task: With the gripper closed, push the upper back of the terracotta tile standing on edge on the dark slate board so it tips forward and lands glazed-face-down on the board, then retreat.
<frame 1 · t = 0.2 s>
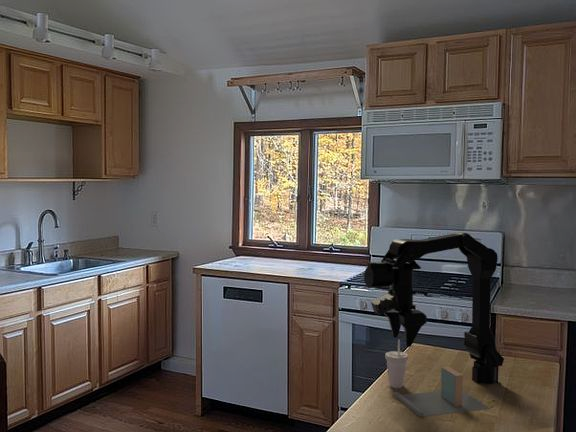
hand: (401, 341, 158), 14 cm above the countertop, fingers open, 9 cm apart
tile: (451, 400, 152), point 1 cm above the countertop, touching slate board
smoothie: (396, 388, 163), on the countertop
slate board: (441, 404, 151), on the countertop
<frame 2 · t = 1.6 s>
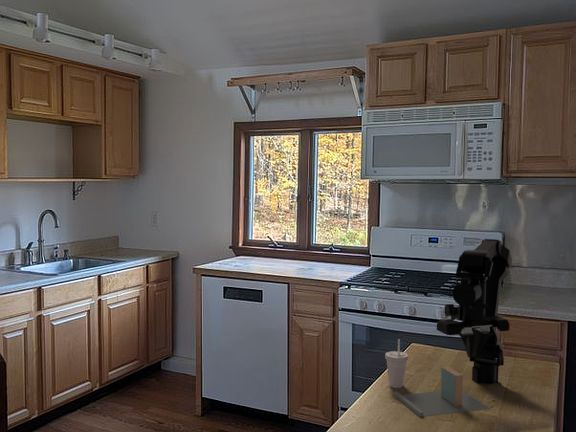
hand: (472, 357, 153), 12 cm above the countertop, fingers closed
nothing on the countertop moved.
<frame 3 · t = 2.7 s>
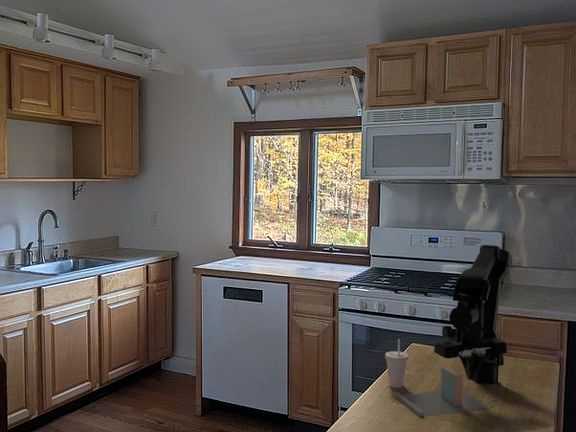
hand: (469, 379, 153), 6 cm above the countertop, fingers closed
nothing on the countertop moved.
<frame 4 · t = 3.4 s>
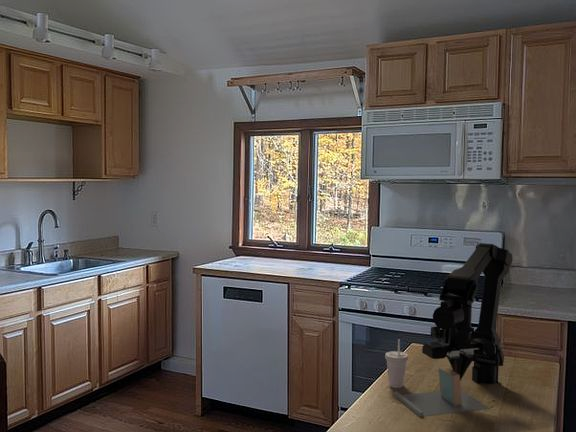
hand: (458, 380, 152), 6 cm above the countertop, fingers closed
tile: (451, 400, 152), point 1 cm above the countertop, tilted 7°, touching slate board
everything else where it was.
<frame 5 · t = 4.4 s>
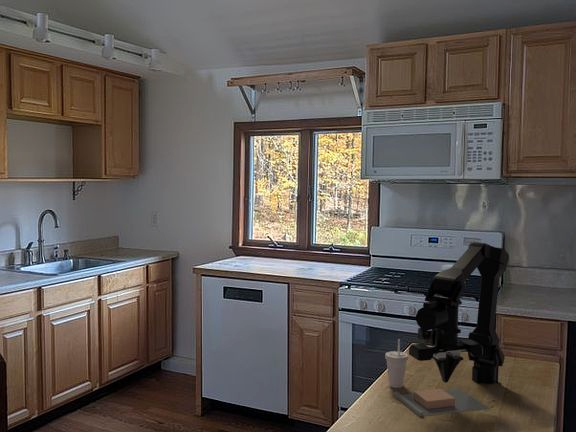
hand: (445, 382, 151), 6 cm above the countertop, fingers closed
tile: (447, 397, 151), point 2 cm above the countertop, tilted 90°, touching slate board
everything else where it was.
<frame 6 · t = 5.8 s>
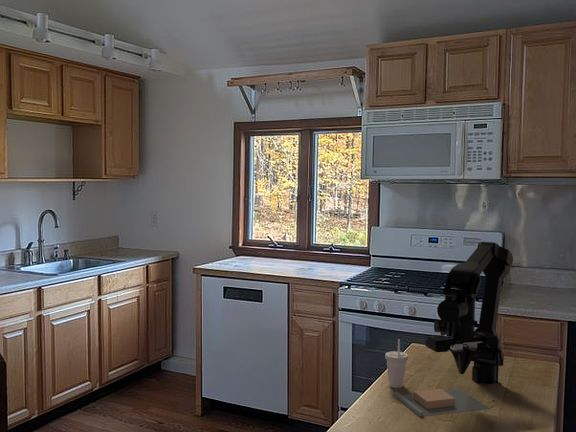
hand: (461, 373, 152), 8 cm above the countertop, fingers closed
nothing on the countertop moved.
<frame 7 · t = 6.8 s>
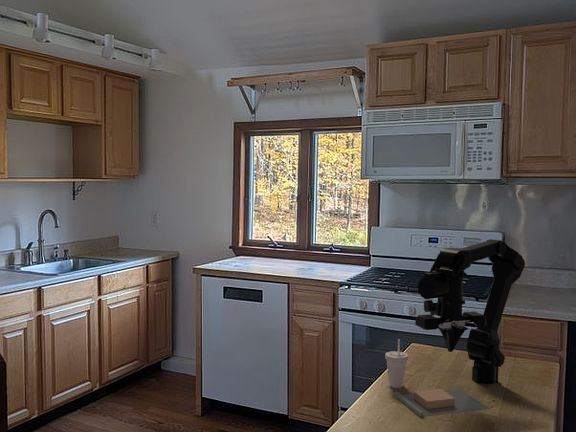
hand: (450, 351, 157), 12 cm above the countertop, fingers closed
nothing on the countertop moved.
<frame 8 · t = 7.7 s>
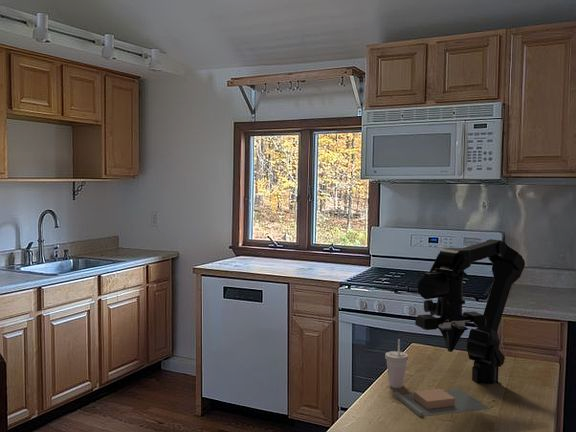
hand: (450, 351, 157), 12 cm above the countertop, fingers closed
nothing on the countertop moved.
at the end: tile tilted 90°; tile inside the target area (4.9 cm from its centre), point 1.9 cm above the countertop; the gripper is holding nothing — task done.
